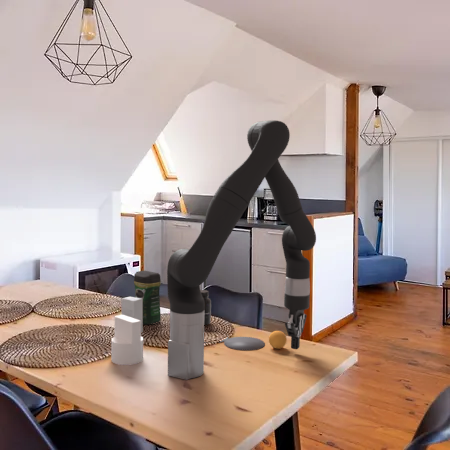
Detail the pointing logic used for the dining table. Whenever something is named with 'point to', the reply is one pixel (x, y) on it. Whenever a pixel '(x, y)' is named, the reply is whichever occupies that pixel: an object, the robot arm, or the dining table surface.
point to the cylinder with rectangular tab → (127, 341)
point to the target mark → (244, 343)
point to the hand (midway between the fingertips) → (295, 348)
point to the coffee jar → (148, 295)
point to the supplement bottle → (206, 307)
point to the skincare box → (133, 308)
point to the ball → (277, 339)
